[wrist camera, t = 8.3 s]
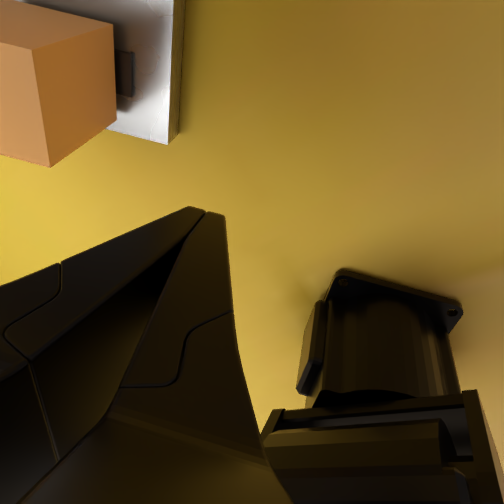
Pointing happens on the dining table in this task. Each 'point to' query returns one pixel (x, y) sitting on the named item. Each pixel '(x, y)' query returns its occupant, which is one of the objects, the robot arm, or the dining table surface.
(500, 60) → the dining table surface
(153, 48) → the console
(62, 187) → the dining table surface
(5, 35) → the block
